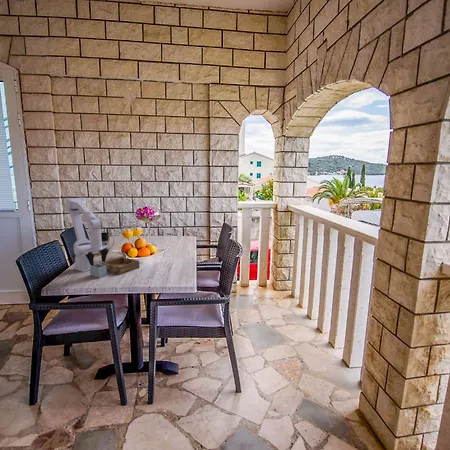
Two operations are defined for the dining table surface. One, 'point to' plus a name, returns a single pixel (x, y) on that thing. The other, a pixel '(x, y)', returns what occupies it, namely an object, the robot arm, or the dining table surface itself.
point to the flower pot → (123, 253)
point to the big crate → (121, 265)
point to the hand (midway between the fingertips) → (97, 263)
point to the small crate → (98, 270)
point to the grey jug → (105, 241)
